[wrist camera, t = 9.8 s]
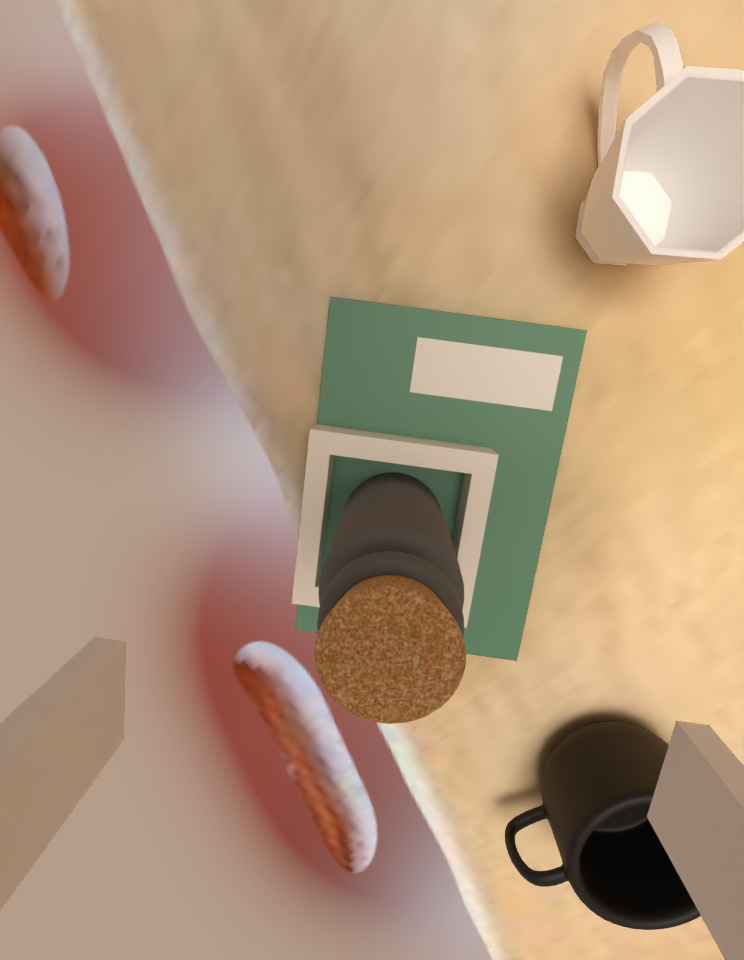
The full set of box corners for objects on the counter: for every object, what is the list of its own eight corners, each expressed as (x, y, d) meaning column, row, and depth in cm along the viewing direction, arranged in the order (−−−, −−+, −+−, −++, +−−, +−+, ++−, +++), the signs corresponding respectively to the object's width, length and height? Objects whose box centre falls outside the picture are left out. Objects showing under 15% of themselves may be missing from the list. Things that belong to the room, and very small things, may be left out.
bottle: (351, 463, 30) (308, 554, 15) (450, 480, 30) (504, 588, 15) (336, 557, 31) (284, 724, 17) (432, 573, 31) (464, 755, 16)
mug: (648, 687, 33) (716, 773, 26) (687, 799, 35) (760, 907, 28) (472, 745, 34) (491, 840, 28) (517, 849, 36) (546, 964, 29)
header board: (332, 298, 29) (324, 289, 26) (581, 331, 29) (605, 326, 25) (297, 623, 33) (286, 650, 30) (513, 653, 33) (526, 684, 30)
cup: (565, 310, 28) (631, 288, 21) (521, 117, 27) (575, 10, 19) (695, 269, 28) (814, 229, 20) (659, 67, 26) (775, -66, 18)
